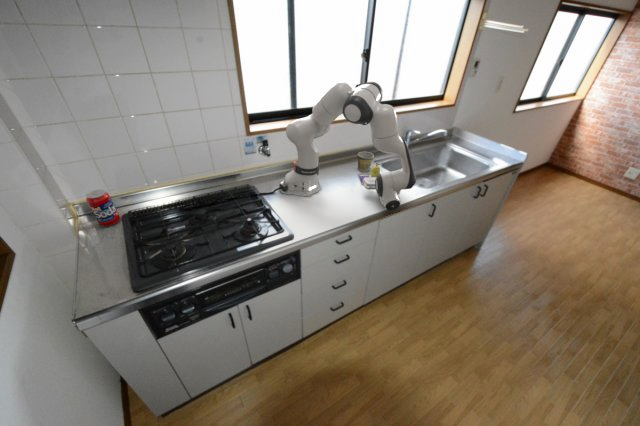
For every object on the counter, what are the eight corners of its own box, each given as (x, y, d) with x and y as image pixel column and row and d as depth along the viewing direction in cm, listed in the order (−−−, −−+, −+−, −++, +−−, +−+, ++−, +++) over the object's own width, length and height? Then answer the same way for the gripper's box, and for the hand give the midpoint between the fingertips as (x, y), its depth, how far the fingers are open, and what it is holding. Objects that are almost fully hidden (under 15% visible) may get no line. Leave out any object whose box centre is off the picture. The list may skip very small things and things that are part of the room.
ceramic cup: (367, 174, 168) (369, 159, 162) (352, 169, 172) (354, 155, 166) (375, 167, 177) (378, 152, 171) (361, 162, 181) (364, 148, 175)
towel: (362, 184, 158) (362, 184, 157) (358, 175, 167) (358, 174, 167) (387, 185, 159) (387, 184, 159) (382, 175, 168) (382, 174, 168)
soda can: (115, 214, 125) (101, 186, 116) (124, 221, 121) (110, 192, 112) (96, 223, 119) (80, 194, 110) (105, 230, 116) (89, 200, 107)
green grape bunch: (369, 182, 160) (372, 165, 154) (367, 177, 165) (370, 160, 158) (380, 182, 160) (383, 165, 154) (377, 177, 165) (381, 160, 159)
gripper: (364, 193, 143) (359, 180, 154) (402, 194, 144) (394, 181, 155) (366, 183, 139) (361, 170, 150) (405, 183, 140) (397, 171, 152)
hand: (378, 175), depth 153 cm, fingers open, 8 cm apart
